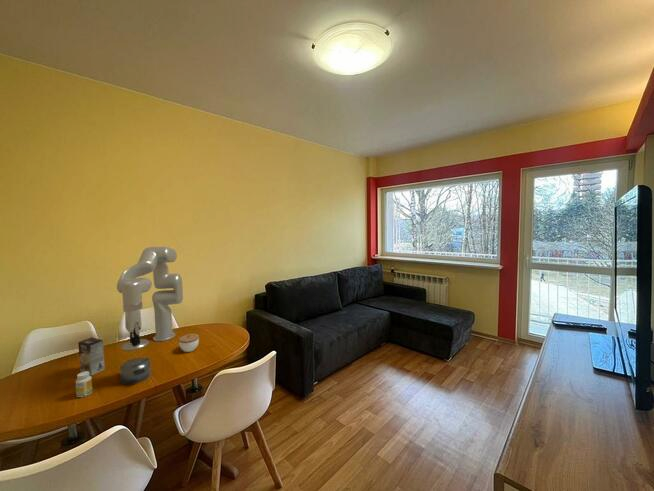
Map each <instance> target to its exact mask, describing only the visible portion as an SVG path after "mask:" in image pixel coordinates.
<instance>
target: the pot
mask: <svg viewBox="0 0 654 491" xmlns="http://www.w3.org/2000/svg"><path fill="white" fill-rule="evenodd" d="M119 370H120V373H119V374H120V383H121V384H122V385H135V384H137V383H140V382H143V381H146V380H147V379H149V377H150V376H151V374H152V372H151V360H150V358H149V357H135V358H131V359H128V360H126V361H125V362H123V363H122V364H120V366H119Z"/></svg>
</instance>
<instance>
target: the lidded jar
mask: <svg viewBox="0 0 654 491" xmlns="http://www.w3.org/2000/svg"><path fill="white" fill-rule="evenodd" d="M178 343H179V347H180V349H181V350H182V351H183V352H185V353H191V352H194V351H195V350H196V348H197V347H198V346H199V343H200V335H199V334H197V333H188V334H187V333H186V334H185V335H182V336H180V337H179V338H178Z"/></svg>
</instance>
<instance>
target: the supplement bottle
mask: <svg viewBox="0 0 654 491" xmlns="http://www.w3.org/2000/svg"><path fill="white" fill-rule="evenodd" d="M76 378H77V379H76V380H75V395H76V397H77V398H78V397H81V398H85V397H87V395H88V396H90V395H91V394H93V378H92V375H89V371H85V372H81V371H80V373H78V374H77V375H76ZM84 396H85V397H84Z"/></svg>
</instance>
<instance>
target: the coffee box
mask: <svg viewBox="0 0 654 491" xmlns="http://www.w3.org/2000/svg"><path fill="white" fill-rule="evenodd" d="M78 354H79V355H78V356H79V366H80V367H79V368H80V369H79V370H80V373H81V372H85V371H89V376H93V375H96V374H98V373H100V372H103V371H104V370H105V368H106V367H105V357H104V356H105V354H104V340H103V339H101V338H100V339H99V338H96V337H92V336H91V337H89V338H87V339H83V340H81V341H79V342H78Z"/></svg>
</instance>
